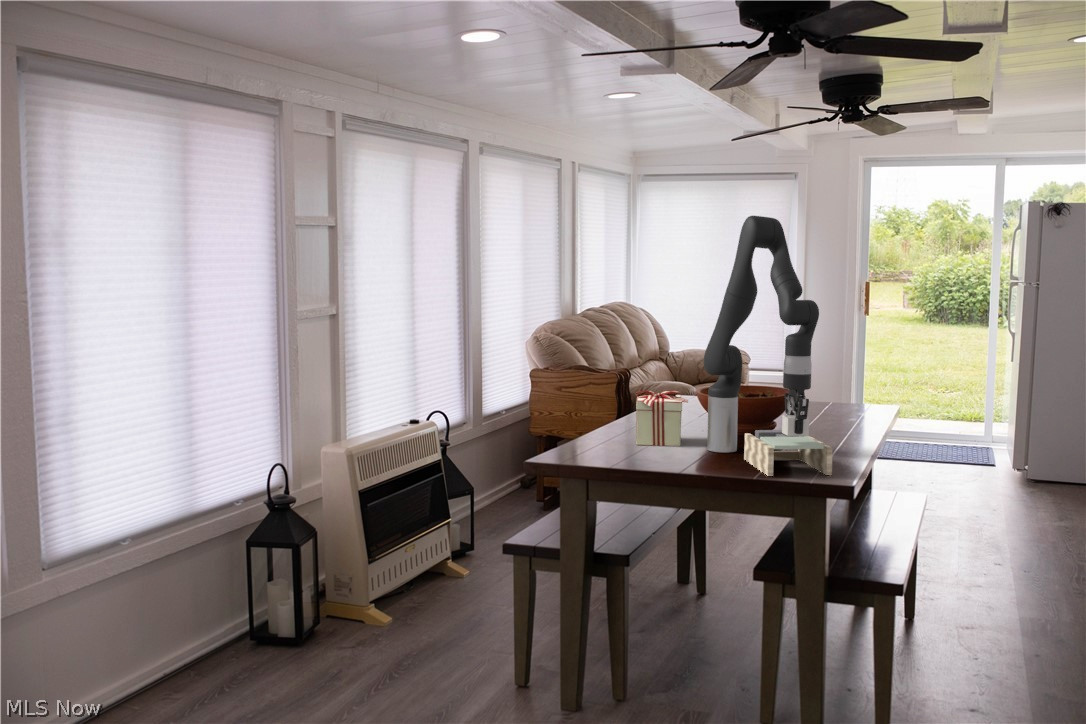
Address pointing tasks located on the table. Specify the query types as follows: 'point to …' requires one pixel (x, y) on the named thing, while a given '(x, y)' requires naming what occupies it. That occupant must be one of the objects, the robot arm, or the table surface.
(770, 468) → the stand
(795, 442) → the trapdoor
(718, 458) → the table surface
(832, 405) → the table surface
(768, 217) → the robot arm
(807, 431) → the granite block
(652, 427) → the gift box
